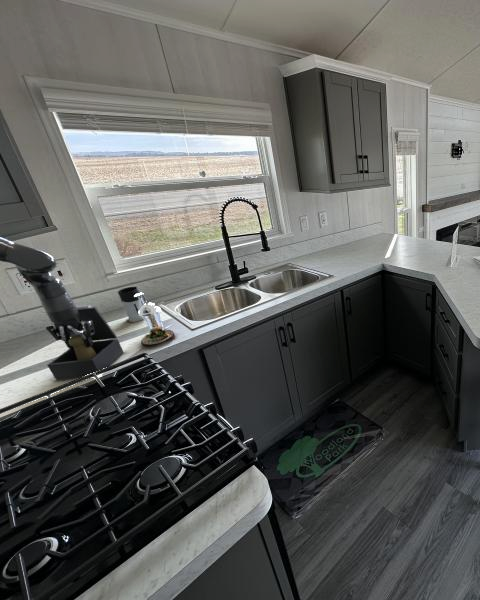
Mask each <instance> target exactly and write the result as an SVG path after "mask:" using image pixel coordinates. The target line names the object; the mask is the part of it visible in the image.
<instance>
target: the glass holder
mask: <svg viewBox="0 0 480 600" xmlns="http://www.w3.org/2000/svg"><path fill="white" fill-rule="evenodd" d="M139 293H140V291H139V288H138V287H137V286H128V287H123V288H121V289H119V290H118V291H117V294H118V295H119V298H120V302H121V304H122V306H123V308H124V311H125V312H126V315H127V316H128V322H131V323H132V322H133V323H134V322H140V321H143V320H144V319H143V318H142V316H139V315H138V312H139V311H140V307H141V306H142V305H143V304H145V301H144V299H143V296H142V295H139V296H136V297H133V296H134V295H137V294H139ZM146 301H147V299H146ZM147 302H148V301H147Z"/></svg>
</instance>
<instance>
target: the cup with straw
mask: <svg viewBox="0 0 480 600" xmlns="http://www.w3.org/2000/svg"><path fill="white" fill-rule="evenodd" d="M139 295H140V296H141V297H142V299H143V302H144V304H143V305H142V306H141V307H140V311H139V312H138V315H139V316H142V318H143V320H144V322H145V323H146V325H147V327H148V328H149V331H150V330H151V329H152V328H153V327H155V325H156V326H160V327H162V329H163V330H165V329H164V323H163V320H162V316H161V315H162V314H161V311H162V308H161V306H159V305H157V304H156V303H153V302H148V301H146V300H147V298H146V296H145V294H144V292H139V294H137V295H134V296H133V297H136V296H139Z"/></svg>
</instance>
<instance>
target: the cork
mask: <svg viewBox="0 0 480 600" xmlns="http://www.w3.org/2000/svg"><path fill="white" fill-rule="evenodd" d="M68 342H69V344H70V345H71V346H73V348H74V351H75V353H76V356H77V359H78V361H79V360H87V359H92V358H93V357H94V356H96V355H97V353H96V352H95V351H94V350H93V348H92V347H86V345H85V343H84V341H83V338H82V337H81V336H79V335H76V336H73V337H70V339H69V341H68Z"/></svg>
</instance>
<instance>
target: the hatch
mask: <svg viewBox="0 0 480 600" xmlns="http://www.w3.org/2000/svg"><path fill="white" fill-rule="evenodd" d="M75 306H76V305H75ZM76 308H77V310H78V312H79V317H80V318H81V319H82V320H83V321H89V320H92V321H93V326H94V330H95V334H93V335H92V336H91V339H92V341H102V340H111V339H118V336H117V334H116V333H115V331H114V330H113V329H112V327H111V326H110V325H109V323H108V322H107V321H106V320H105V318H104V317H103V315H102V314H101V313H100V311H99V310H98V308H97V307H96V306H94V307H92V305H90V304H88V305H77V306H76ZM82 325H83V324H82ZM83 326H84V325H83ZM79 331H81V329H80V330H79ZM83 334H84V333H83ZM76 335H77V334H75V333H73V332H71V337H73V336H76ZM84 335H85V334H84ZM71 337H70V338H71Z"/></svg>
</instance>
